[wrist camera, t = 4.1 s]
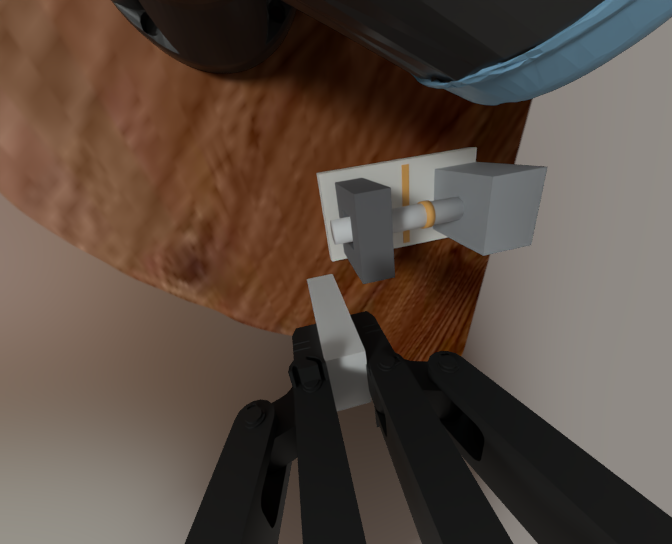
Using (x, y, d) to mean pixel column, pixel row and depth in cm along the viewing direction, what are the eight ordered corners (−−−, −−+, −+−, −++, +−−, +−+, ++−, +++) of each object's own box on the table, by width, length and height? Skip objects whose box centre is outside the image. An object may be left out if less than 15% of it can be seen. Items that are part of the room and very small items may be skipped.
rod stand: (330, 256, 33) (349, 299, 24) (316, 173, 28) (334, 185, 19) (461, 229, 35) (528, 259, 26) (468, 147, 30) (551, 146, 21)
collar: (344, 252, 31) (363, 284, 24) (334, 182, 27) (353, 194, 20) (368, 247, 31) (394, 277, 24) (362, 177, 28) (390, 187, 20)
